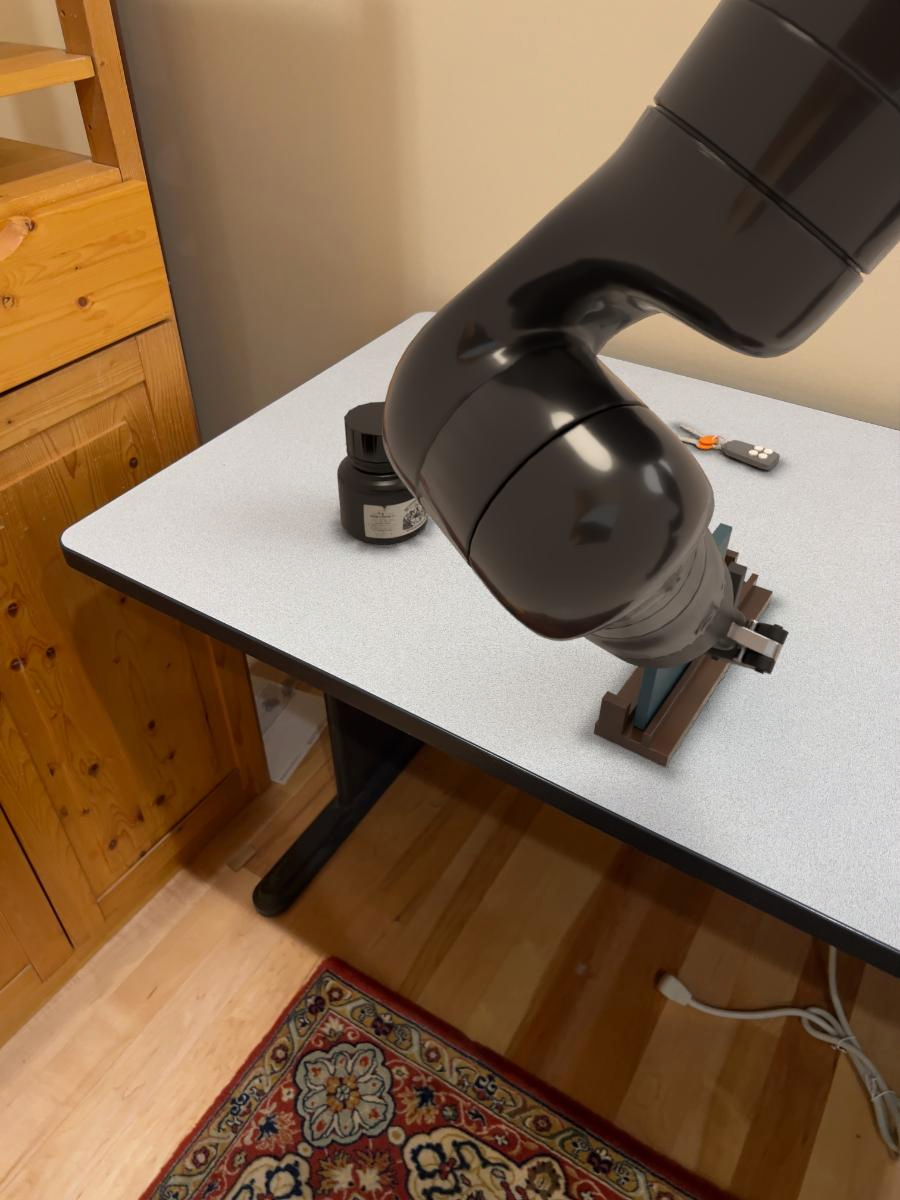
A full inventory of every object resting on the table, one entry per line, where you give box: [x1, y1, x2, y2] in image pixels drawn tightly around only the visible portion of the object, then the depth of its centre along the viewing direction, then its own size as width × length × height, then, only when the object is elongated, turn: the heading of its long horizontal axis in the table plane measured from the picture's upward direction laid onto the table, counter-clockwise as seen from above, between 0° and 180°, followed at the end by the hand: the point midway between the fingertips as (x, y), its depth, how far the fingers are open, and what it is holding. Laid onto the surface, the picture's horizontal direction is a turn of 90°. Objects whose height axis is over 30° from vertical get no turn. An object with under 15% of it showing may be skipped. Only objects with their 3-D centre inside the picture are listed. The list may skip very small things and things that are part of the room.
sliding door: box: [633, 522, 748, 730], centre depth 66 cm, size 4×12×13 cm, turn 146°
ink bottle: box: [336, 401, 429, 547], centre depth 87 cm, size 10×9×12 cm
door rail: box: [593, 548, 774, 768], centre depth 74 cm, size 6×24×4 cm, turn 146°
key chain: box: [677, 423, 781, 471], centre depth 103 cm, size 13×4×2 cm, turn 50°
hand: (692, 634), depth 57 cm, fingers closed
